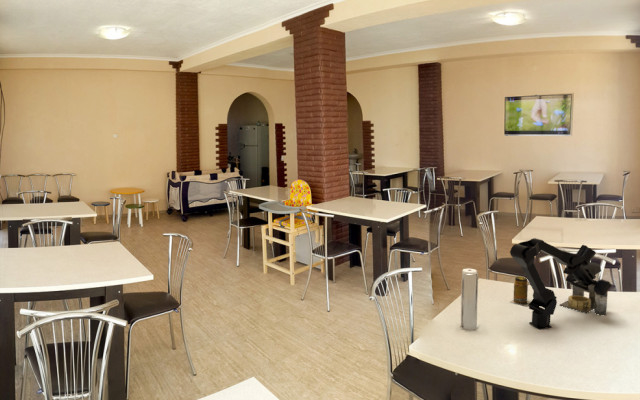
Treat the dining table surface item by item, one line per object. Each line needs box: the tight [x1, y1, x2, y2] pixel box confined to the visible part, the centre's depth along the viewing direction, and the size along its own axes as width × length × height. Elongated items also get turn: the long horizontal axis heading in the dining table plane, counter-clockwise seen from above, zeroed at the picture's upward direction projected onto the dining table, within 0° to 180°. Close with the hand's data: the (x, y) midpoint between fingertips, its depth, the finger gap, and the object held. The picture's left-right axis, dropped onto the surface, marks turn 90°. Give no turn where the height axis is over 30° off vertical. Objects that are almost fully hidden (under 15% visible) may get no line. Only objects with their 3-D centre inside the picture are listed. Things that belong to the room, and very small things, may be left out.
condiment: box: [509, 276, 531, 307], centre depth 222 cm, size 7×8×12 cm
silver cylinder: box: [460, 267, 479, 331], centre depth 196 cm, size 6×6×25 cm
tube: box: [593, 290, 609, 316], centre depth 207 cm, size 5×5×12 cm
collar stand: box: [559, 285, 595, 314], centre depth 217 cm, size 15×12×10 cm
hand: (597, 293), depth 206 cm, fingers open, 9 cm apart
